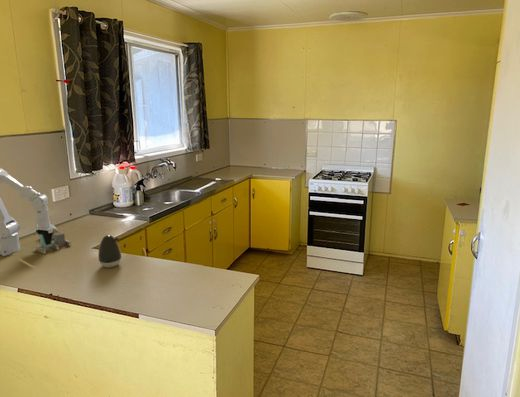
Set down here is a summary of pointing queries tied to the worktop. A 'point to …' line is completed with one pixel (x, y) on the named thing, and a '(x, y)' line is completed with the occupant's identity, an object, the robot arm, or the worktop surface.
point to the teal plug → (44, 242)
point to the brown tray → (52, 247)
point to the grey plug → (59, 239)
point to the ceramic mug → (54, 230)
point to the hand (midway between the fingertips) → (46, 243)
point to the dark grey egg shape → (109, 252)
